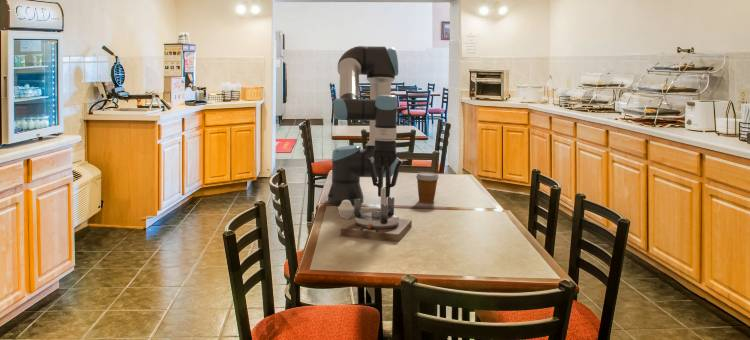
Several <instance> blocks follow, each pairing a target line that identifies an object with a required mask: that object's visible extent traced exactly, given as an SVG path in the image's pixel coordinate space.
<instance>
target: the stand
mask: <svg viewBox="0 0 750 340" xmlns="http://www.w3.org/2000/svg"><path fill="white" fill-rule="evenodd" d="M355 220H356V217H355V216H354V218H352V219H351V220H350V221H348V222H347V223H346V224H344V225H343V226H342V227H340V229H339V236H340V237H346V238H359V239H367V240H375V241H377V240H378V241H386V242H396V243H397V242H398V243H399V242H400V240H401V239H402V238H403V237H404V236H405V235H406V234H407V233H408V232H409V230H410V229H411V228H412V227H413V226H412V225H413V224H412V223H413V220H412V219H403V218H399V225H398V226H397V227H394V228H389V229H379V228H377V229H370V228H364V227H360V226H358V225H356V223H355Z"/></svg>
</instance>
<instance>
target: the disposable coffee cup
mask: <svg viewBox="0 0 750 340" xmlns="http://www.w3.org/2000/svg"><path fill="white" fill-rule="evenodd" d="M415 178H416V180H417V181H416V183H417V190H418V191H417V192H418V202H420V203H422V204H423V203H424V204H431V203H434V202H435V198H436V190H437V184H438V180H439V175H438V173H436V172H432V171H431V172H430V171H421V172H417V173H416V176H415Z"/></svg>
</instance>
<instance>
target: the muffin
mask: <svg viewBox="0 0 750 340" xmlns="http://www.w3.org/2000/svg"><path fill="white" fill-rule="evenodd" d="M337 210H338V213H339V215H340V217H341V218H342V219H344V220H345V219H347V220H348V219H351V217H352V215H354V205H352V204H351V201H349V200H343V201H342V203H341V205H339V206H338V207H337Z"/></svg>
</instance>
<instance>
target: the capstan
mask: <svg viewBox="0 0 750 340" xmlns="http://www.w3.org/2000/svg"><path fill="white" fill-rule="evenodd" d="M353 207H354V211H353V216H354V218H355V217H356V220H355V223H356V225H358V226H360V227H364V228H370V229H377V228H379V229H389V228H394V227H397V226H398V225H399V219H400V216H398V215H396V214H395V197H394V196H389V197H387V205H386V204H382V205H381V206H380V211H372V212H365V213H364V212H363V213H362V203H361V199H358V198H357V199H354V205H353Z"/></svg>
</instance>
